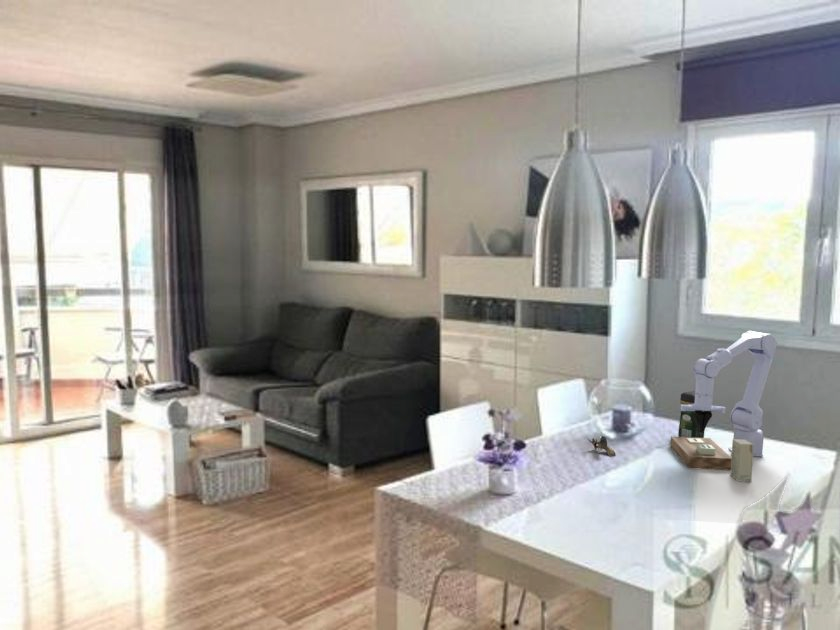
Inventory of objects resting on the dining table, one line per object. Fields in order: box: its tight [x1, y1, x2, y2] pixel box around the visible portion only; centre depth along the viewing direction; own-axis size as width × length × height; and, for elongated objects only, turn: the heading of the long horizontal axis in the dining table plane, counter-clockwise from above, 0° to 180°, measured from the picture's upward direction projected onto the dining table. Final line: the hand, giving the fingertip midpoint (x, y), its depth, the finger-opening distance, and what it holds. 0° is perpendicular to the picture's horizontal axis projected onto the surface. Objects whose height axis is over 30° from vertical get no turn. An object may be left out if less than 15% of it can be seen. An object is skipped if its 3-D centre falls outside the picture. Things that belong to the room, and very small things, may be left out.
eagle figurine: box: [587, 435, 616, 457], centre depth 251 cm, size 8×7×9 cm
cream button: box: [686, 438, 704, 444], centre depth 253 cm, size 5×5×4 cm
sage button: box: [696, 444, 715, 455], centre depth 241 cm, size 5×5×4 cm
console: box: [669, 436, 732, 471], centre depth 247 cm, size 14×24×4 cm, turn 175°
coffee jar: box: [677, 389, 705, 438], centre depth 271 cm, size 10×8×19 cm
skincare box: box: [730, 438, 754, 483], centre depth 227 cm, size 6×4×12 cm
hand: (701, 431), depth 246 cm, fingers closed
